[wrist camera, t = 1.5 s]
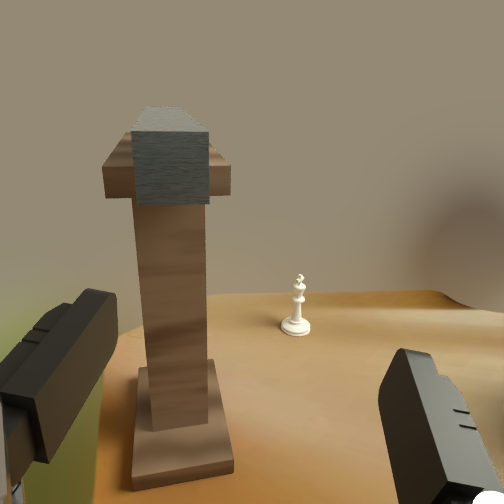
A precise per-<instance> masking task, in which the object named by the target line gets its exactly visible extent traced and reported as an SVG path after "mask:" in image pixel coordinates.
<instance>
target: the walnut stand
mask: <svg viewBox="0 0 504 504" xmlns="http://www.w3.org/2000/svg"><path fill="white" fill-rule="evenodd" d="M102 172H103V180H104V188H105V197H106V199H107V198H132V208H133V218H134V229H135V240H136V251H137V262H138V272H139V283H140V294H141V303H142V315H143V326H144V337H145V348H146V358H147V367H141V368H139V372H138V387H137V401H136V416H135V431H134V446H133V461H132V476H131V478H132V486H133V491H139V490H144V489H149V488H155V487H160V486H166V485H171V484H176V483H182V482H187V481H192V480H198V479H203V478H208V477H214V476H219V475H224V474H230V473H234V457H233V453H232V448H231V443H230V438H229V433H228V428H227V423H226V419H225V414H224V409H223V404H222V399H221V394H220V389H219V385H218V380H217V375H216V370H215V365H214V360H213V359H208V360H207V311H206V250H205V204H200V205H167V206H137V197H136V186H135V174H134V163H133V151H132V140H131V133H130V132H129V133H127V132H126V133H125V135H124V136H123V137H122V139H121V140H120V142H119V143H118V145H117V146H116V147H115V149H114V150H113V152H112V153H111V154H110V156H109V157H108V159H107V160H106V162H105V163H104V164H103V166H102ZM230 175H231V166H230V164H229V163H228V162H227V161H226V160H225V159H224V158H223V157H222V156H221V155H220V154H219V153H218V152H217V151H216V150H215V148H214V147H213V146H212V145H211V144H210V143H209V196H223V195H230V182H231V181H230V180H231V178H230V177H231V176H230Z"/></svg>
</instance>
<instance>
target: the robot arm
mask: <svg viewBox="0 0 504 504" xmlns="http://www.w3.org/2000/svg"><path fill="white" fill-rule="evenodd" d="M117 339H118V318H117V298H116V295H115V294H114V293H110V292H105V291H100V290H95V289H89V288H88V289H85V290H84V291H83V292H82V294H81V295H80V296H79V297H78V298H77V299H76V301H75V302H74V303H73V304H68V303H62V304H61V305H59V306H57V307H55V308H54V309H52V310H50V311H49V312H47V313H46V314H45V315H43V317H42V318H41V319H40V320H39V321H38V322H37V323H36V324H35V325H34V327H33V329H32V330H30V331H29V332H28V333H27V334H26V335H25V337H24V338H23V339H22V342H19V343H18V344H17V345H16V346H15V347H14V349H13V350H12V351H11V352H10V353H9V354H8V355H7V356H6V357H5V358H4V360H3V361H2V362H1V363H0V504H25V493H24V482H23V475H24V474H25V472H26V471H27V469H28V468H29V466H30V464H31V463H32V461H36V462H41V463H46V464H49V463H50V461H51V459H52V458H53V456H54V454H55V453H56V451H57V449H58V448H59V446H60V444H61V442H62V441H63V439H64V437H65V435H66V434H67V432H68V430H69V429H70V427H71V425H72V423H73V422H74V420H75V418H76V417H77V415H78V413H79V411H80V410H81V408H82V406H83V404H84V403H85V401H86V399H87V398H88V396H89V394H90V392H91V391H92V389H93V387H94V385H95V384H96V382H97V381H98V379H99V377H100V375H101V374H102V372H103V370H104V369H105V367H106V365H107V363H108V362H109V360H110V358H111V356H112V355H113V353H114V350H115V347H116V344H117ZM378 405H379V411H380V416H381V421H382V425H383V430H384V435H385V440H386V445H387V449H388V454H389V459H390V464H391V468H392V473H393V478H394V483H395V488H396V492H397V497H398V502H399V504H504V488H503V485H502V483H501V481H500V479H499V476H498V474H497V472H496V470H495V467H494V465H493V463H492V461H491V458H490V456H489V454H488V452H487V449H486V447H485V445H484V443H483V440H482V438H481V436H480V434H479V432H478V431H477V430H476V428H477V427H476V425H475V422H474V420H473V418H472V416H470V414H469V413H470V411H469V409H468V407H467V405H466V402H465V400H464V398H463V396H462V393H461V392H460V391H459V390H458V389H457V388H456V386H455V385H454V384H453V383H452V382H451V381H450V379H449V378H448V377H447V376H442V375H439V374H438V371H437V369H436V366H435V364H434V361H433V359H432V357H431V355H430V354H428V353H424V352H419V351H413V350H408V349H403V348H400V349H398V350H397V352H396V354H395V356H394V358H393V360H392V362H391V364H390V366H389V368H388V370H387V372H386V375H385V377H384V379H383V381H382V383H381V385H380V389H379V395H378Z"/></svg>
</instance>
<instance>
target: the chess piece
mask: <svg viewBox="0 0 504 504" xmlns="http://www.w3.org/2000/svg"><path fill="white" fill-rule="evenodd" d="M303 279H304V277H303V276H302V275H301V274H299V275H298V279H297V280H296V282H297V283H295V284H294V285H293V288H294V292H295V295H294V296H293V297H292V301H294V302H295V304H294V309H293V313H292V317H288V318H285V319H284V320H283V321H282V324H281V329H282V330H283V331H284V332H285V333H286V334H288V335H291V336H304V335H306V334H308V333H309V332H310V324H309V322H308V321H307V320H305V319H303V318H301V303H302V302H304V301H305V298H304V297H303V296H302V294H303V292H304V290H305V288H306V286H305V285H304V284H302V280H303Z"/></svg>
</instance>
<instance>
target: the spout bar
mask: <svg viewBox="0 0 504 504" xmlns="http://www.w3.org/2000/svg"><path fill="white" fill-rule="evenodd" d="M131 140H132V151H133V163H134V174H135V186H136V197H137V206H167V205H200V204H209V132H208V131H207V130H206V129H205V128H204V127H203V126H201V125H200V124H199V123H198V122H196V120H194V119H193V118H192V117H191V116H190V115H189V114H187V113H186V112H185V111H184V110H183V109H181V108H180V107H156V106H146V108H145V109H144V110H143V112H142V114H141V115H140V117H139V119H138V120H137V122H136V123H135V125H134V126H133V128H132V130H131Z"/></svg>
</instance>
